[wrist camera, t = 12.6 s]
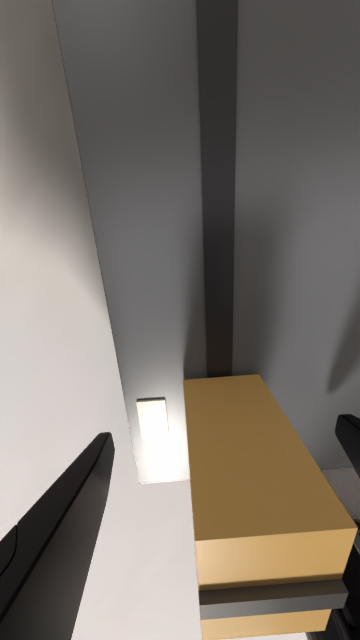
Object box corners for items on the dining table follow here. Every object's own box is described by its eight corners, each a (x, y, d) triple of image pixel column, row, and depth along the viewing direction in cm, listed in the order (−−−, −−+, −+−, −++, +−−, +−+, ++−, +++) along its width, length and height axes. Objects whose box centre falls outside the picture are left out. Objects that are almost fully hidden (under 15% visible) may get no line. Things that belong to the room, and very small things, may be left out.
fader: (254, 449, 10) (330, 644, 5) (188, 454, 10) (203, 655, 5) (258, 374, 9) (366, 541, 4) (182, 379, 9) (196, 555, 4)
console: (440, 418, 14) (499, 457, 11) (145, 441, 13) (139, 486, 11) (677, -152, 7) (982, -387, 4) (58, -118, 6) (-13, -342, 4)
